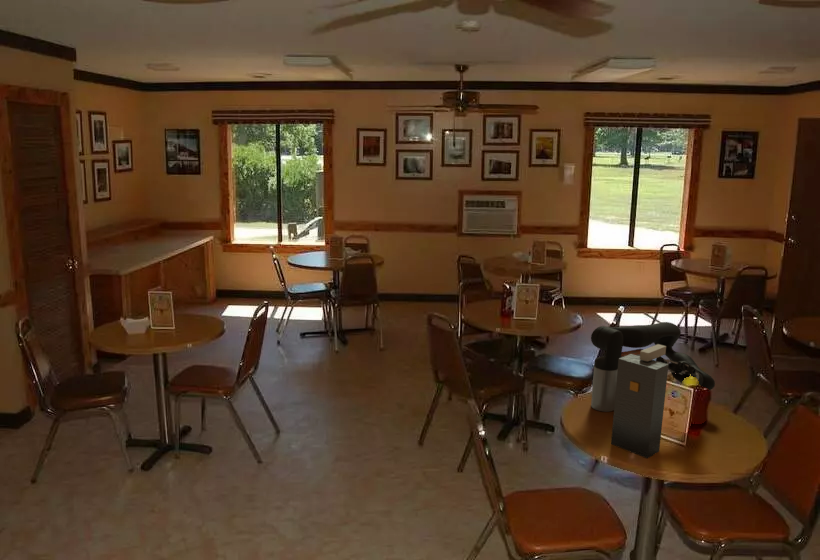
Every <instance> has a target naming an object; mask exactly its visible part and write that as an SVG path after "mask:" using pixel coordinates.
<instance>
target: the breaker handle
mask: <svg viewBox="0 0 820 560" xmlns="http://www.w3.org/2000/svg"><path fill="white" fill-rule="evenodd" d="M665 353H666V346H663V345H660V344H657V345H655V344H654V345H652V346H650V347H647V348H645V349H643V350H642V351H640V360H644V361H647V362H648V361H651V360H656V358H658V357H660V356H661V357H662V356H663V357H664V356H666V355H665Z"/></svg>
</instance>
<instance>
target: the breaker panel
mask: <svg viewBox="0 0 820 560" xmlns="http://www.w3.org/2000/svg"><path fill="white" fill-rule="evenodd" d="M668 371H669V370H668V364H665V363H662V362H658V361H656V359H653V360H651V361H648V362H647V361H644V360H640V356H637V355H633V354H629V355H627V356H624V357H621V358H619V360H618V371H617V382H616V394H615V405H614V410H613V417H612V427H611V428H612V429H611V441H610V444H611V445H613V446H616V447H618V448H621V449H623V450H625V451H627V452H630V453H633V454H636V455H638V456H640V457H643V458H645V459H649V458H651V457H652V456H654V455H656V454H657V453H659V452H660V448H661V447H660V446H661V439H662V427H663V420H664V419H663V418H664V411H665V409H664V408H665V399H666V392H667V391H666V390H667V380H668ZM655 453H656V454H655Z"/></svg>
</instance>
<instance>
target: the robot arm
mask: <svg viewBox="0 0 820 560" xmlns="http://www.w3.org/2000/svg"><path fill="white" fill-rule="evenodd" d="M681 334H682V332H681V328H680V327H679V326H677V324H675V323H672V322H670V321H669V322H668V321H663V322H658V323H652V324H645V325H640V324H639V325H638V324H637V325H625V326H613V327H612V326H605V325H600V326H598V327H596V328H594V329H593V331H592V332H591V335H590V341H591V343H592V345H593V346H594V347H595V348H597V349H599V350H601V351H605V356H598V357H596V358H595V359H594V363H593V364H594V366H593V377H592V378H593V379H592V390H591V402H590V403H591V405H590V407H591V408H592V409H593V410H596V411H599V412H606V413H607V412H612V411H613V412H614V405H615V394H616V382H617V371H618V360H619V358H621V354H622V352H623V347H625V348H633V349H642V348H645V347H648V346H650V345H652V344H654V346H655V345H657V344H660V345H663V346H666V353H665V355H664V356H665V357H666V358H667V359H665V358H664V357H662V356H660V357H658V358H655V361H658V362H662V363H665V364H668V371H670V372H671V376H672V378H674V379H675V380H676V381H678V382H679V383H680V384H682V381H683V380H684V378H686V377H689V376H690V374H691V376H693V377H696V378H697V379H698V381H699V384H700V385H701V386H703V387H706V388H708V389H709V390H710V391H711V390H713V389H714V388H715V385H716V382H715V379H714V378H713V377H712V376H711V375H710V374H709V373H707V372H705V371H704V370H702V369H701V368H700V367H699V366H698V364H697V363H696V362H695V360H694V359H693V358H692V357H691V356H690V355H688V354H686V353H683V352H679V351H676V350H674V349H673V347H674V345H675V344H676V342H677V341H678V340H679V338H680V336H681ZM675 373H676V374H675Z"/></svg>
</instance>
